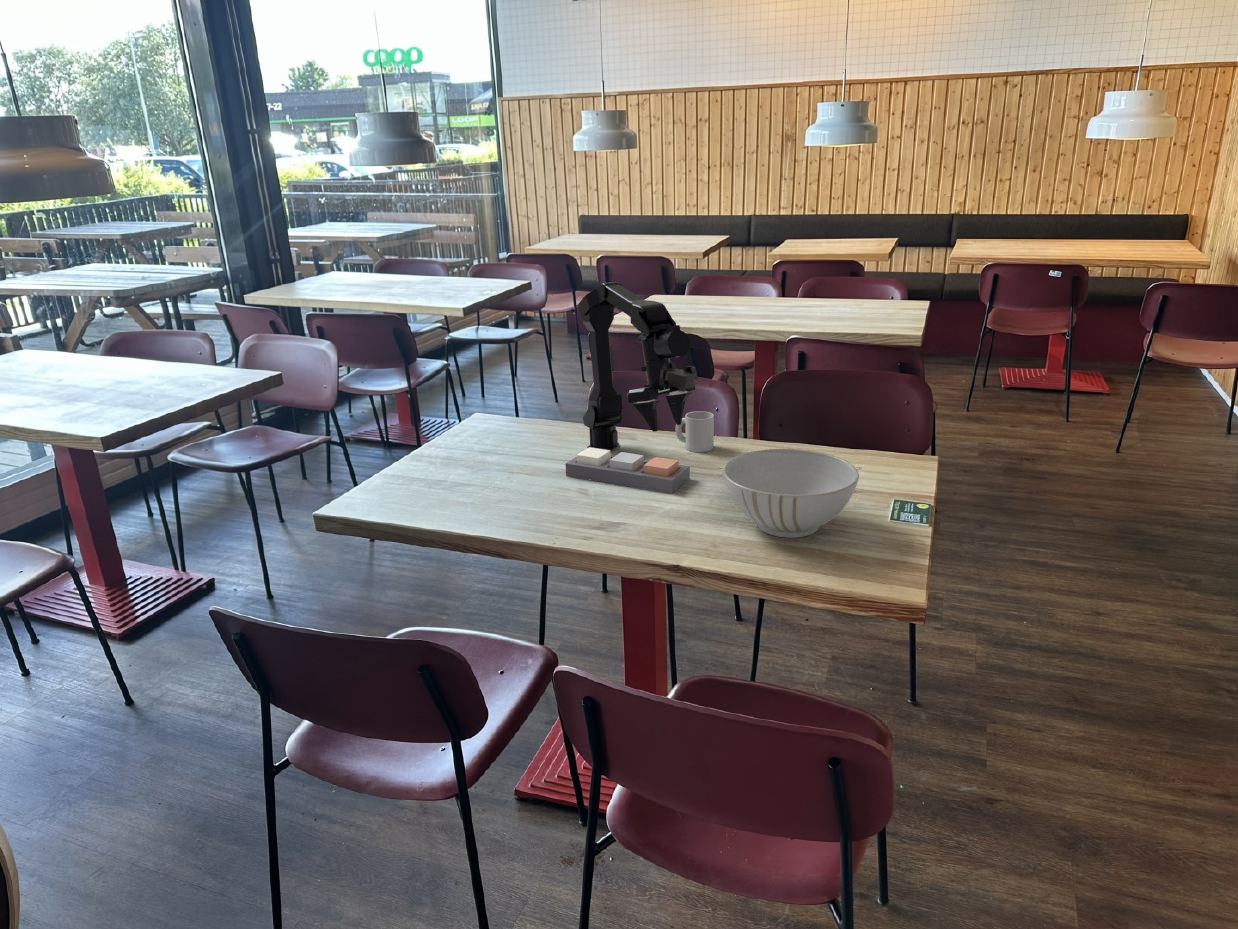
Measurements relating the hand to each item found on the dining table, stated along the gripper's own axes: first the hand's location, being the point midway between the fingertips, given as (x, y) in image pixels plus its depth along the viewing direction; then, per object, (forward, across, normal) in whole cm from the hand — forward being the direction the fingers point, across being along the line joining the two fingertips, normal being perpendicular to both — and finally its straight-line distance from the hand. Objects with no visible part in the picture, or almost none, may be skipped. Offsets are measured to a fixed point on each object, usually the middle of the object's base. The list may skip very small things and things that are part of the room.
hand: (667, 428), depth 199 cm
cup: (+9, +25, +11) cm, 29 cm away
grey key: (+8, -2, +12) cm, 15 cm away
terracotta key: (+10, 0, +4) cm, 11 cm away
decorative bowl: (+22, -4, -30) cm, 37 cm away
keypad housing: (+11, -1, +13) cm, 17 cm away
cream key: (+6, -3, +21) cm, 22 cm away
